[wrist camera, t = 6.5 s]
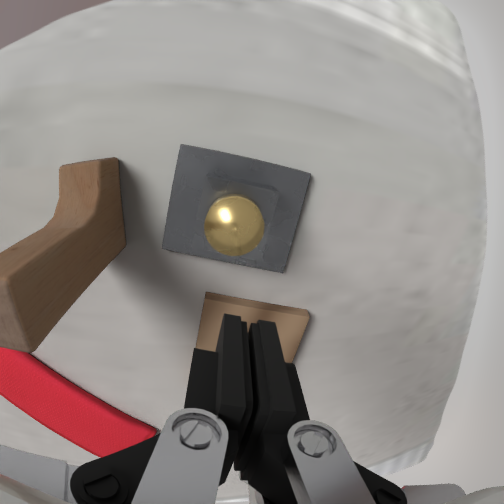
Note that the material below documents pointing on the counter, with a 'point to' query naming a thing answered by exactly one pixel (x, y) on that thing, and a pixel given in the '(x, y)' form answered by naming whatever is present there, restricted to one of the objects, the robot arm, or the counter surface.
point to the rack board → (251, 321)
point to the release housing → (233, 182)
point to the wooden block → (61, 254)
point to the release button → (234, 225)
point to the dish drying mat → (67, 406)
